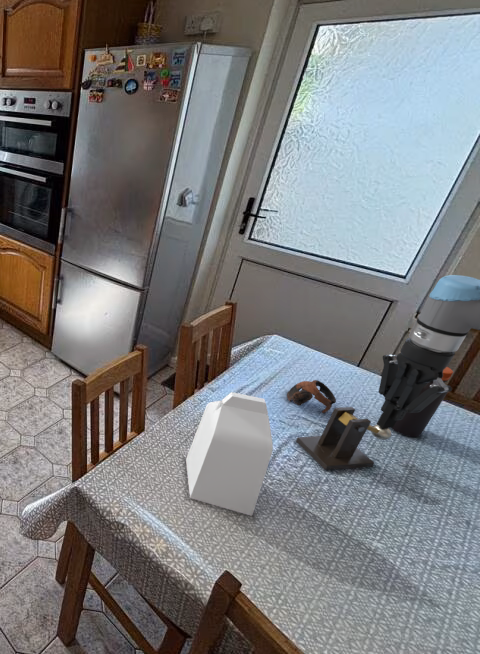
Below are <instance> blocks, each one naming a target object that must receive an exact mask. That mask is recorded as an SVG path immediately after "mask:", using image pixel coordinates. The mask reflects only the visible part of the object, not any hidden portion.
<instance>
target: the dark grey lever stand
mask: <svg viewBox="0 0 480 654" xmlns="http://www.w3.org/2000/svg"><path fill="white" fill-rule="evenodd" d="M345 412H346V413H349V414H352V415H354V414H355V412H356V409H355V407H353V406H344V407H341V406H340V407H334V409H333V410H332V412H331V415H330V417H329V419H328V421H327V423H326V424H325V427H324V429H323V431H322V433H321V435H315V436H313V435H312V436H297V438H296V439H295V442H296V443H297V444H298V445H299V447H300V448H302V449H303V450H304V451H305V452H306V453H307V454H308V455H309V456H310V457H311V458H312V459H313V460H314V461H315V462H316V463H317V464H318V465H319V466H320V467H321V468H322V469H323V470H324V471H330V470H331V471H333V470H347V469H360V468H372V467H373V466H374V465H375V462H374V460H372V459H371V458H369V456H367V455H366V454H365V453H363V452H362V450H360V449H359V448H358V447H359V445H360V443H361V441H362V440H363V438H364V436H365V434H366V432H367V431H368V430H367V428H368V427H369V425H371V423H372V421H371V420H370V419H368V418H358V419H355V420H349V422H348V424H347V426H346V425H345V424H343V423H342V422H341V421H340V420H339V418H340V417H341V416H342V415H343V414H344V413H345Z"/></svg>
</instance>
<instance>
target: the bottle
mask: <svg viewBox="0 0 480 654" xmlns="http://www.w3.org/2000/svg"><path fill="white" fill-rule="evenodd" d="M453 373H454V371H453V370H452V369H451V368H450V367H448V366H447V367H446V368H445V369H444V370H443V377H442V381H443V382H444V384H445V385H446V386H447V384H446V383H447V382H448V381H449V380H450V379H451V377H452V375H453ZM431 384H433V381H432V382H429V383H427V385H426V386H424V387H423V388H422V390H421V392H420V393H419V395H418V397H419V396H420V395H421V394H422V393H423V392H424V391H426V390H427V389H429V388H430V385H431ZM448 393H449V392H446V393H442V394H441V395H440V396H439V397H437V398H436V399H435V400H434V401H433V402H431V403H430V404H429V405H428V406H427V407H425V408H424V409H423V410H422V411H420V412H415V413H407V412H406V414H405V416H404V417H403V419H402V420H397V421H396V423H395V425H394V427H393V428H390V430H393V431H395V432H397V433H398V434H400V435H403V436H407V437H410V438H411V437H412V438H417V437H420V436H421V435H422V434H423V432H424V431H425V429H426V428H427V426H428V424H429V423H430V421H431V419H432V418H433V417H434V415H435V413H436V412H437V410H438V409H439V407H440V405H441V403H442V402H443V400H445V397H446V396H447V394H448ZM397 402H398V401H397ZM397 402H396V403H397Z"/></svg>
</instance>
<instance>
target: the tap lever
mask: <svg viewBox="0 0 480 654" xmlns="http://www.w3.org/2000/svg"><path fill="white" fill-rule="evenodd" d="M355 419H359V418H358V417H357V416H355V415H354V414H353V415H352V414H349V413H346V412H345V413H344V414H343V415H342V416H341V417H340V418H339V420H340V421H341V422H342V423H343V424H345V425H346V426H347V424H348V422H349V420H355ZM366 431H369V432H370V433H371V435H372V437H374V438H376V439H378V440H381V441H387V440H389V439H390V438H392V433H393V432H392V430H391V428H381V427H380V426H379V425H377V424H374V425H371V424H370V425H369V427H368V428H367V430H366Z"/></svg>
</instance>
